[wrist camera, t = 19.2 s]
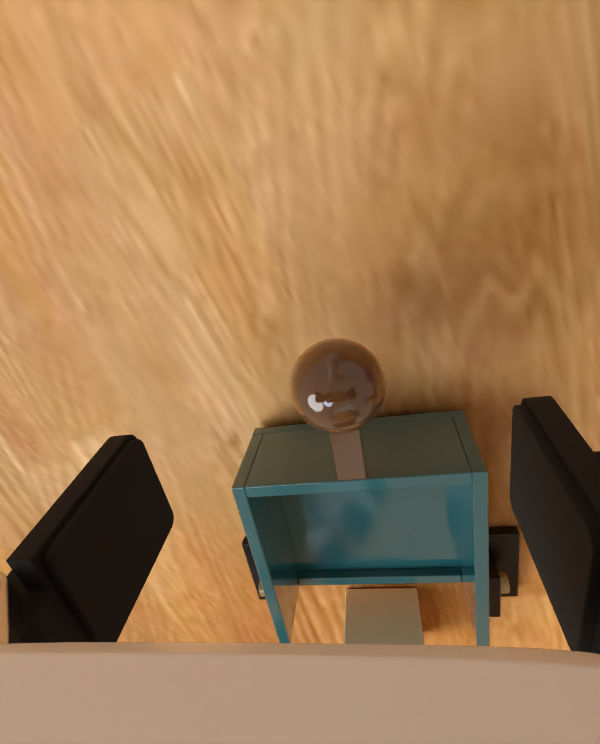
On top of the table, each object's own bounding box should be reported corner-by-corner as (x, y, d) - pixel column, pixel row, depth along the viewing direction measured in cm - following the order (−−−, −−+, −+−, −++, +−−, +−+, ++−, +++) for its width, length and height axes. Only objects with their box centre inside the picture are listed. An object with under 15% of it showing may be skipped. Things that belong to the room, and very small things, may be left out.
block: (353, 706, 26) (354, 633, 30) (431, 708, 25) (421, 633, 29) (342, 659, 24) (345, 588, 28) (426, 660, 23) (416, 587, 27)
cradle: (243, 537, 27) (233, 571, 25) (516, 526, 24) (532, 564, 22) (261, 591, 30) (252, 628, 27) (514, 588, 26) (529, 629, 24)
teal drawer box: (226, 319, 21) (175, 379, 15) (458, 287, 19) (501, 342, 13) (292, 569, 28) (274, 676, 22) (468, 565, 26) (498, 681, 20)
